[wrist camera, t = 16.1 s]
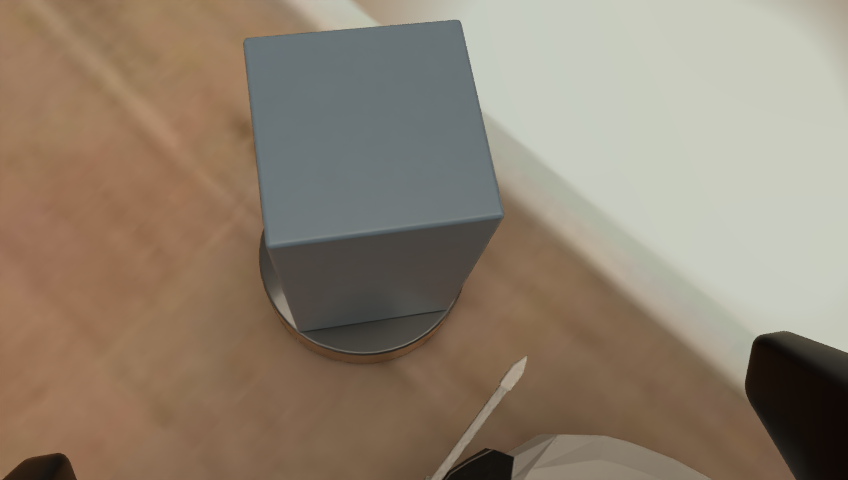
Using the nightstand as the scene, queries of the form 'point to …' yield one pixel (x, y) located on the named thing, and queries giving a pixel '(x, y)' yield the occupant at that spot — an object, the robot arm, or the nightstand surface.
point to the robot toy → (558, 454)
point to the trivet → (354, 327)
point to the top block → (370, 169)
